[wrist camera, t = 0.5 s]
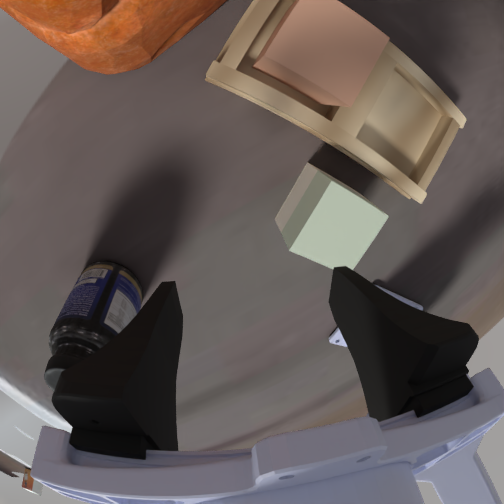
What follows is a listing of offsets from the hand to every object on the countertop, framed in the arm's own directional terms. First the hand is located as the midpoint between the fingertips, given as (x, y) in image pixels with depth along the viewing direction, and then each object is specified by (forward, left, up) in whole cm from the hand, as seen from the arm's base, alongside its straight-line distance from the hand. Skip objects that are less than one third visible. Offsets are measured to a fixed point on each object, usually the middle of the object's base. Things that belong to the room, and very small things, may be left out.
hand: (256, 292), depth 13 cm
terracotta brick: (+2, -12, -9) cm, 15 cm away
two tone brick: (-5, -3, -10) cm, 12 cm away
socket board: (-3, -12, -10) cm, 16 cm away
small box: (+32, +132, -10) cm, 136 cm away
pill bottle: (+7, +11, -10) cm, 17 cm away
